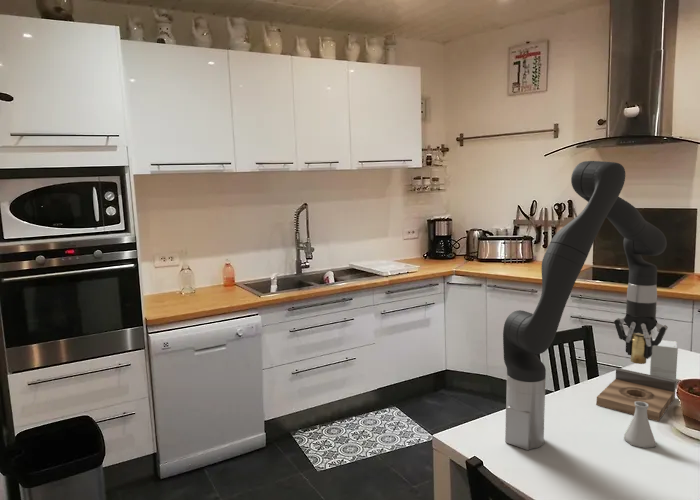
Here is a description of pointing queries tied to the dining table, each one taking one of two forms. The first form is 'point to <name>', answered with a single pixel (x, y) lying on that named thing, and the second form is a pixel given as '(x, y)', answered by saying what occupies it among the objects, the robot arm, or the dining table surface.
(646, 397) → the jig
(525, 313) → the robot arm
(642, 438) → the flask
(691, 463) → the dining table surface
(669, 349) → the supplement box
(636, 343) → the gold upright block
